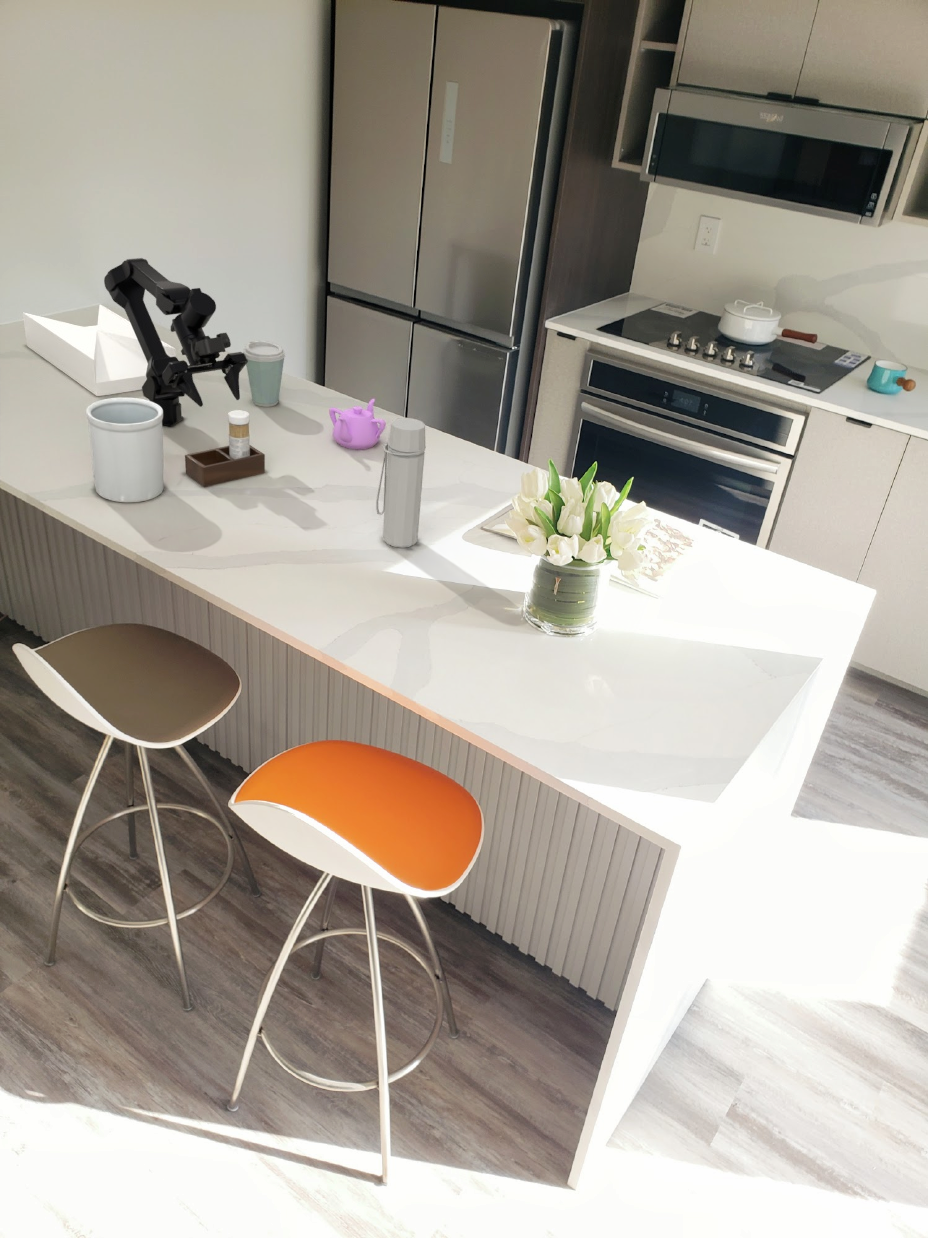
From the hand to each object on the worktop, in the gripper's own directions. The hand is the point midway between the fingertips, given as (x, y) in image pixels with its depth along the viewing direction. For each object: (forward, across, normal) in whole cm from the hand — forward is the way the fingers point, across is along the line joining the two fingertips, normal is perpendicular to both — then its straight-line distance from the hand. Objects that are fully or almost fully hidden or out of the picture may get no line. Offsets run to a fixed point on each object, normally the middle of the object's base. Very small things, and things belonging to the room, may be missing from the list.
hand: (220, 402), depth 224 cm
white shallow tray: (-41, +5, +60) cm, 72 cm away
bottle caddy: (+15, -4, +4) cm, 16 cm away
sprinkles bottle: (+15, 0, +4) cm, 15 cm away
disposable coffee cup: (-9, +28, +28) cm, 40 cm away
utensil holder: (+13, -25, +6) cm, 29 cm away
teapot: (+14, +33, +5) cm, 37 cm away
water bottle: (+47, +9, -28) cm, 55 cm away
